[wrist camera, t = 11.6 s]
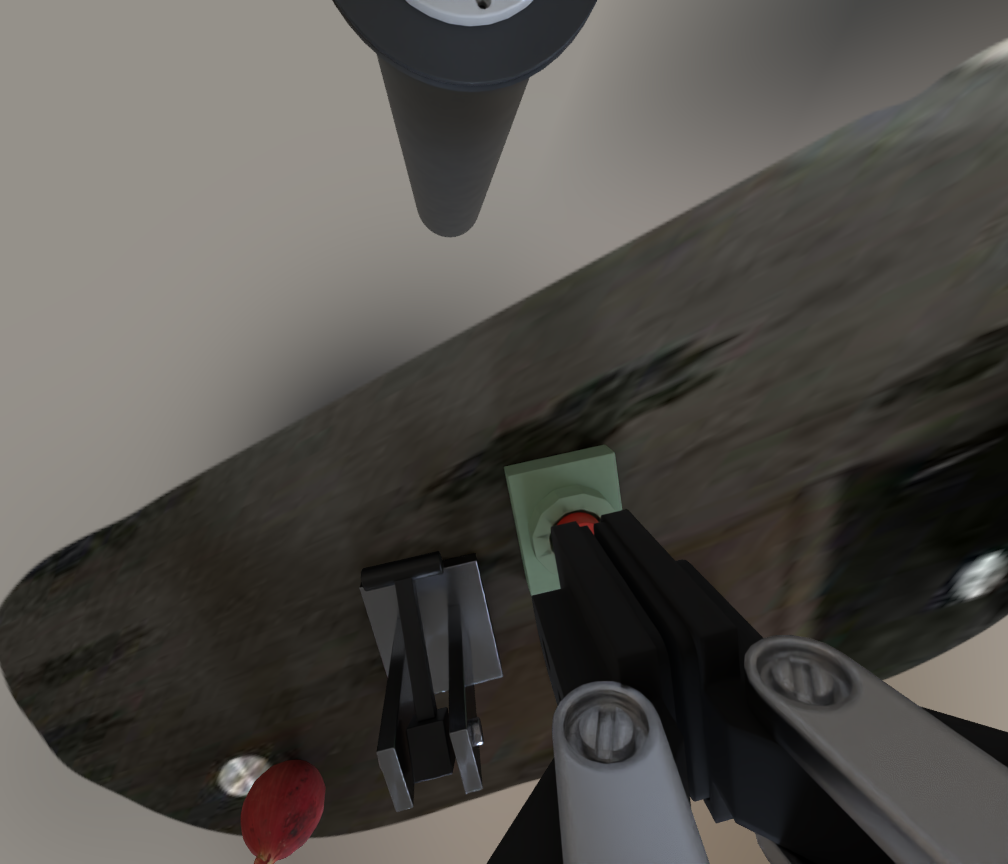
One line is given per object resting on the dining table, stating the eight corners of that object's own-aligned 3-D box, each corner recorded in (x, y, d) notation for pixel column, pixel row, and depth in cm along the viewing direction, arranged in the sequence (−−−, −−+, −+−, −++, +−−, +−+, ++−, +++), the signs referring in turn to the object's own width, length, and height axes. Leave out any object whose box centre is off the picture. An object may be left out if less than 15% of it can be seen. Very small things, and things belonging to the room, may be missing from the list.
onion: (317, 725, 39) (287, 825, 32) (344, 774, 41) (322, 881, 33) (250, 749, 39) (203, 856, 32) (280, 798, 41) (242, 911, 33)
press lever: (367, 568, 31) (357, 569, 29) (441, 551, 32) (437, 550, 30) (397, 771, 29) (388, 791, 26) (478, 750, 29) (477, 767, 27)
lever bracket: (361, 578, 37) (320, 714, 24) (475, 552, 37) (491, 671, 25) (396, 691, 40) (375, 863, 27) (501, 665, 40) (526, 822, 28)
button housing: (503, 466, 36) (510, 485, 32) (605, 444, 36) (624, 460, 33) (526, 580, 38) (535, 610, 35) (620, 557, 39) (639, 584, 35)
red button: (548, 518, 33) (554, 529, 32) (597, 506, 34) (605, 517, 32) (556, 562, 34) (562, 575, 33) (604, 551, 35) (612, 563, 33)
